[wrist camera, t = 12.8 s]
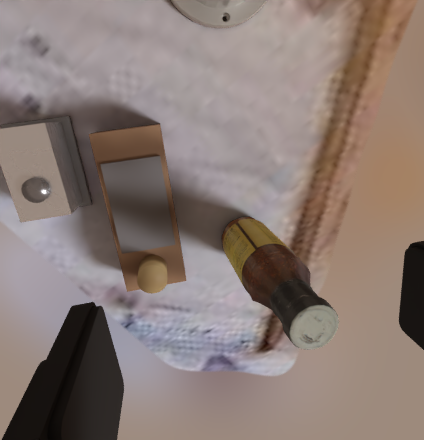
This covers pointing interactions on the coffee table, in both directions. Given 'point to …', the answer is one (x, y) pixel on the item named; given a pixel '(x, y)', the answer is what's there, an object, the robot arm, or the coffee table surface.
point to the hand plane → (140, 205)
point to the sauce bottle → (279, 282)
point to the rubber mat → (72, 149)
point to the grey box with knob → (39, 171)
